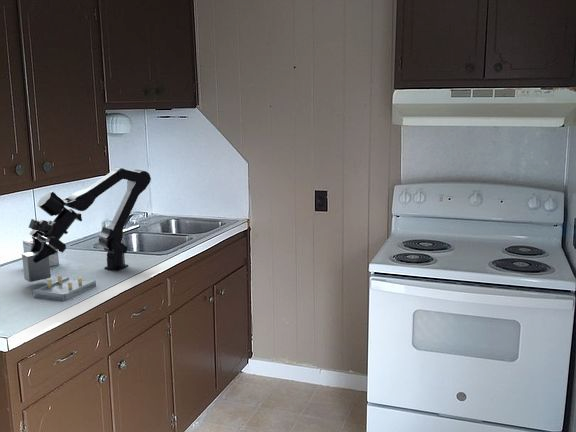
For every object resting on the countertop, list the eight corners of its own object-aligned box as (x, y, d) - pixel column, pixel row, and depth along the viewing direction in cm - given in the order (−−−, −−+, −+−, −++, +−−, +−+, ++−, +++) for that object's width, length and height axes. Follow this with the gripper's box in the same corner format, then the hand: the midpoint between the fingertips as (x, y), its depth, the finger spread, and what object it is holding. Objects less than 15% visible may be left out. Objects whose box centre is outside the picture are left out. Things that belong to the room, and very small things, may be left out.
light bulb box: (50, 261, 229) (48, 234, 227) (60, 264, 224) (57, 237, 222) (24, 267, 221) (21, 239, 218) (33, 270, 216) (30, 242, 214)
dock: (66, 282, 203) (65, 270, 202) (95, 285, 199) (95, 273, 198) (33, 296, 188) (32, 284, 187) (64, 301, 184) (63, 288, 184)
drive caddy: (45, 274, 205) (43, 249, 203) (51, 277, 201) (49, 252, 199) (24, 278, 200) (21, 253, 198) (29, 282, 196) (27, 256, 194)
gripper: (32, 206, 205) (3, 242, 200) (53, 214, 192) (22, 252, 186) (57, 224, 212) (28, 259, 207) (78, 233, 198) (49, 271, 193)
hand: (31, 260), depth 198 cm, fingers closed on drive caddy, 5 cm apart
